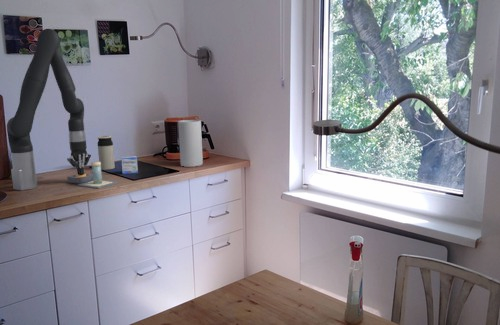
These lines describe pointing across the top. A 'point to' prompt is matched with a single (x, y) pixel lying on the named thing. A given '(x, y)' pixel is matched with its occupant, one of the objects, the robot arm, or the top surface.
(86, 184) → the picture board
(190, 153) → the cylinder vase
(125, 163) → the medicine box
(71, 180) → the button housing
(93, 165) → the teal bottle
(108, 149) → the travel mug
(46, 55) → the robot arm
